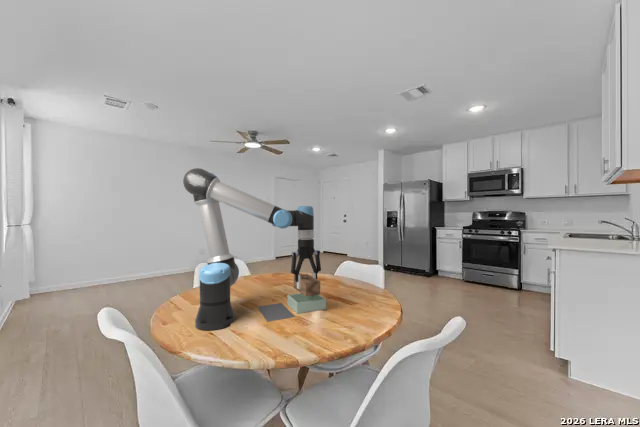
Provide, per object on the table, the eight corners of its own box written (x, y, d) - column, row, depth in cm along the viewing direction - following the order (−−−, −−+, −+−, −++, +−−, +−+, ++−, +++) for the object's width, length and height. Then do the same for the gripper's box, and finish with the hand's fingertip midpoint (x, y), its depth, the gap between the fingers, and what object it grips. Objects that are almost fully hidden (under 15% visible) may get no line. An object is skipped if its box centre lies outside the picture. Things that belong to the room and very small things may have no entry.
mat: (267, 323, 111) (267, 321, 111) (256, 307, 129) (256, 306, 129) (295, 318, 116) (295, 316, 116) (281, 304, 134) (281, 302, 134)
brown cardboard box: (305, 296, 120) (305, 280, 120) (293, 287, 134) (293, 273, 134) (320, 294, 123) (320, 278, 123) (306, 286, 137) (306, 272, 137)
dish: (297, 315, 119) (297, 303, 119) (287, 305, 132) (287, 295, 132) (326, 310, 125) (326, 299, 125) (313, 301, 138) (313, 291, 138)
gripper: (288, 240, 121) (288, 292, 121) (328, 238, 129) (328, 286, 129) (283, 239, 128) (283, 288, 128) (321, 237, 136) (322, 283, 136)
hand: (306, 287), depth 129 cm, fingers closed on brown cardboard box, 7 cm apart
